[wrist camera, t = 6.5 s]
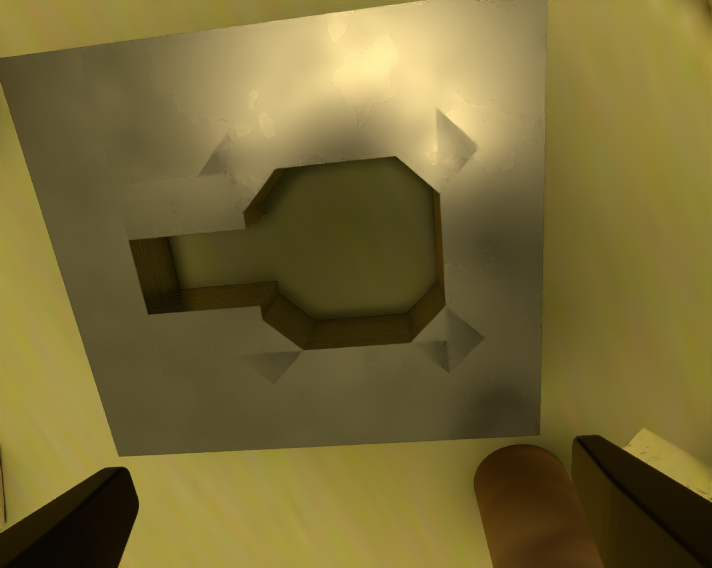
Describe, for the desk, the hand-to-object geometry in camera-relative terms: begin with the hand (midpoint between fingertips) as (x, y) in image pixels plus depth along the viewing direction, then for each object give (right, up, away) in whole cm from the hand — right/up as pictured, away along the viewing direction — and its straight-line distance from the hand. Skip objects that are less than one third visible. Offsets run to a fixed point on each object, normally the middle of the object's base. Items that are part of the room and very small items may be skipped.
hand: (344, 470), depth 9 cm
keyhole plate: (-2, +5, +11) cm, 13 cm away
